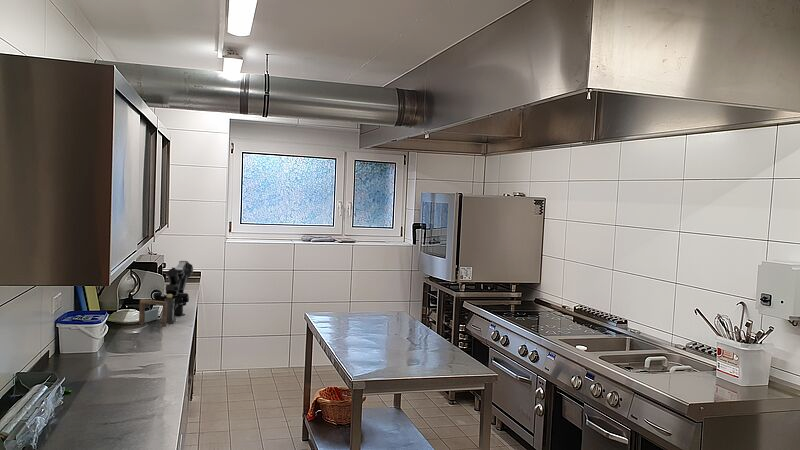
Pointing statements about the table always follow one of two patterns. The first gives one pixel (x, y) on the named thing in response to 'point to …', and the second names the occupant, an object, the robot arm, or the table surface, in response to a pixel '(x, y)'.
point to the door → (151, 315)
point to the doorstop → (170, 309)
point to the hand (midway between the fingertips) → (168, 309)
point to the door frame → (142, 303)
